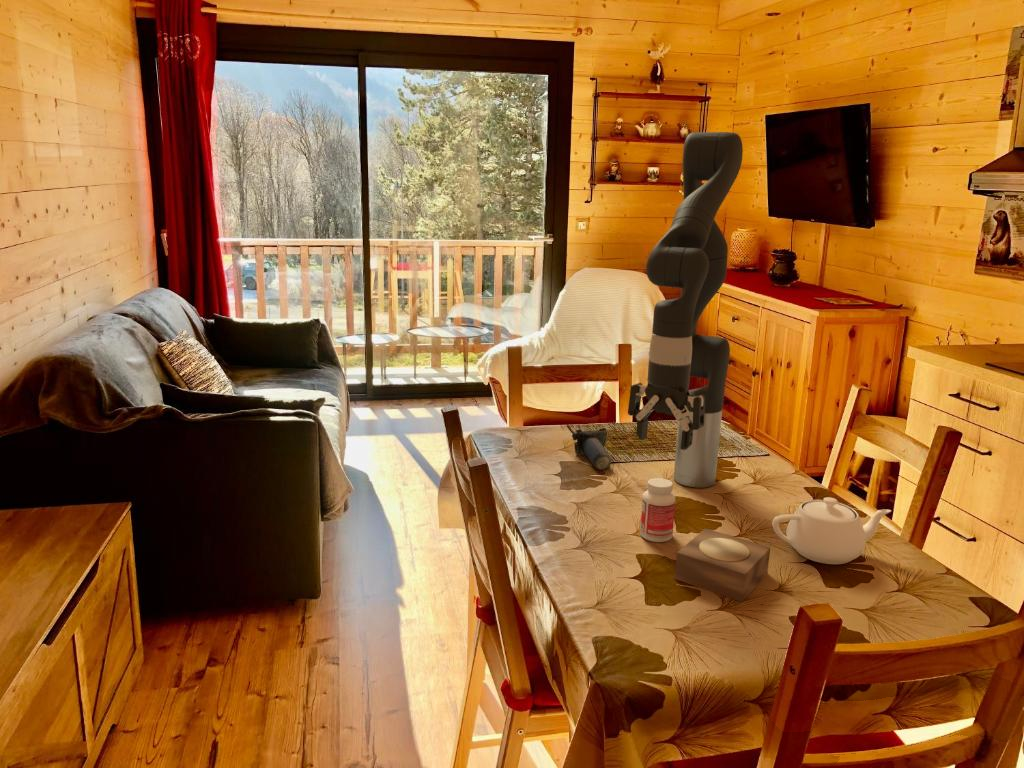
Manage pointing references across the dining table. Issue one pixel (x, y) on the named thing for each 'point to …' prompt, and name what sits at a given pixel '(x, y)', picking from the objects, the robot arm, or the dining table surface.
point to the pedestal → (722, 564)
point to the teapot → (828, 531)
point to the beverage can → (593, 447)
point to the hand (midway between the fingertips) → (663, 443)
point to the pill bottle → (658, 511)
